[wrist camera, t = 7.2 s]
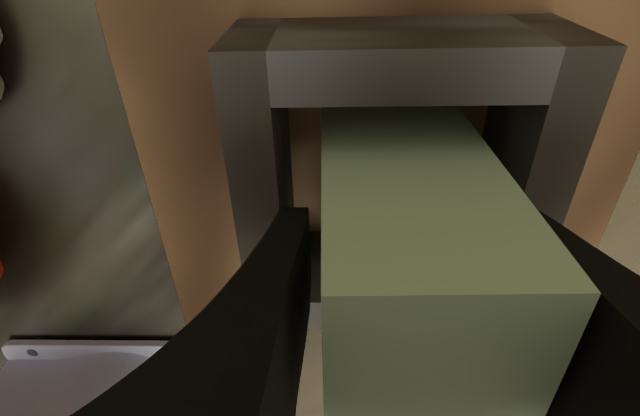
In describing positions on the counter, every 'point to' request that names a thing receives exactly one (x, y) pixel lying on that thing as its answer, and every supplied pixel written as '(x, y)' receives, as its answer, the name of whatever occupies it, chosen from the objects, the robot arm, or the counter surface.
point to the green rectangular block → (437, 273)
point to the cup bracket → (362, 91)
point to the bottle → (0, 81)
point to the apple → (1, 269)
